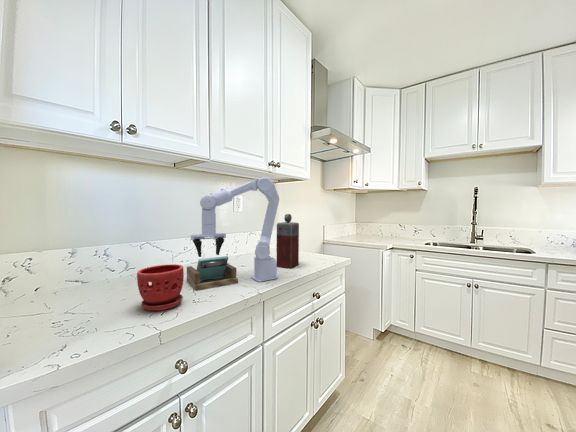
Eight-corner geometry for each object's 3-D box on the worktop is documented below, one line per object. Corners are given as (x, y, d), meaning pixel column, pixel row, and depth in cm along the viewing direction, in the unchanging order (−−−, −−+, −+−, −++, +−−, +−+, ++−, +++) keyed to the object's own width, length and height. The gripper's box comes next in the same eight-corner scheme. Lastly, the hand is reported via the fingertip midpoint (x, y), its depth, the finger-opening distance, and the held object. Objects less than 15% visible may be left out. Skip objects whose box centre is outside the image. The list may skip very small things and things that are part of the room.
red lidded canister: (280, 263, 139) (281, 213, 138) (298, 265, 134) (299, 214, 133) (272, 266, 131) (272, 213, 130) (291, 268, 126) (291, 214, 125)
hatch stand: (225, 275, 113) (225, 262, 113) (237, 283, 101) (237, 268, 101) (186, 281, 104) (186, 266, 104) (195, 290, 92) (195, 274, 92)
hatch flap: (224, 281, 108) (222, 275, 110) (230, 261, 102) (227, 255, 104) (196, 286, 101) (194, 279, 103) (200, 265, 95) (198, 259, 97)
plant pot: (184, 295, 87) (184, 262, 86) (182, 310, 74) (182, 271, 74) (142, 300, 82) (142, 264, 82) (132, 316, 70) (132, 275, 69)
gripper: (221, 223, 113) (221, 252, 113) (188, 224, 105) (188, 255, 105) (227, 224, 107) (227, 255, 107) (192, 225, 99) (193, 258, 99)
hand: (208, 255), depth 106 cm, fingers open, 7 cm apart
